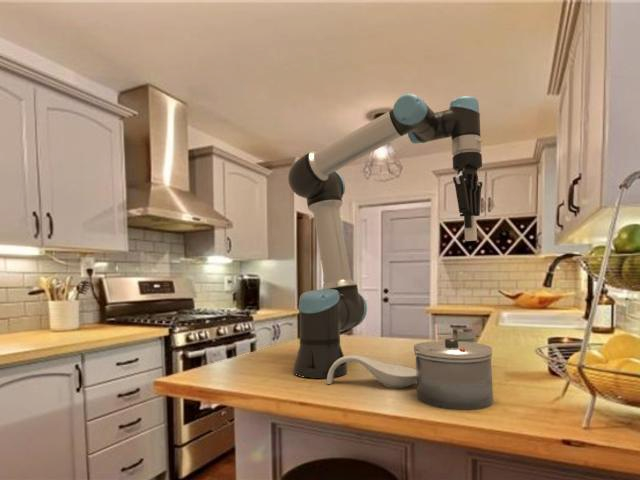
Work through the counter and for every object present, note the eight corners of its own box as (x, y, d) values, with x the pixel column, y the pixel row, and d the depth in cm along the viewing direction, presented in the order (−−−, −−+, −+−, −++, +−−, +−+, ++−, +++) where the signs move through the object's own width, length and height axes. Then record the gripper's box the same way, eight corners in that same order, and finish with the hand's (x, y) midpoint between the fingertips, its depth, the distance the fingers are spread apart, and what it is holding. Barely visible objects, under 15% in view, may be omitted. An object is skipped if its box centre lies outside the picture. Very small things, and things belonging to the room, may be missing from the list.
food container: (480, 367, 120) (478, 332, 121) (458, 366, 122) (457, 332, 122) (473, 358, 132) (472, 327, 133) (453, 358, 134) (452, 327, 134)
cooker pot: (442, 383, 103) (440, 342, 104) (509, 395, 92) (506, 350, 93) (401, 399, 91) (400, 353, 92) (473, 415, 79) (470, 363, 80)
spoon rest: (419, 380, 108) (418, 352, 109) (423, 392, 96) (422, 361, 97) (330, 378, 111) (329, 351, 112) (324, 390, 100) (323, 360, 100)
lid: (437, 342, 103) (436, 332, 104) (504, 350, 92) (503, 338, 92) (399, 352, 92) (399, 340, 92) (470, 362, 80) (470, 348, 80)
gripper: (469, 146, 105) (473, 238, 103) (490, 156, 114) (495, 240, 112) (442, 152, 110) (446, 240, 108) (464, 161, 119) (468, 242, 117)
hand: (471, 240), depth 110 cm, fingers closed
